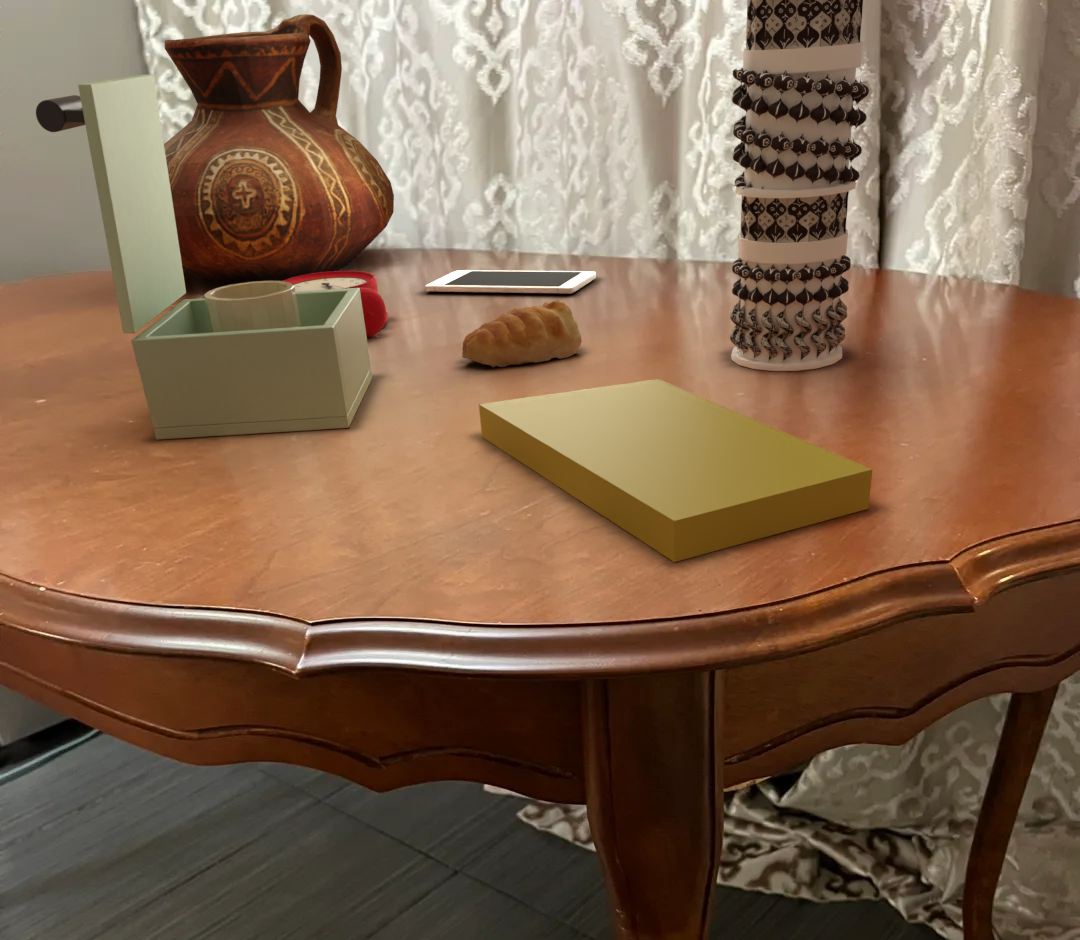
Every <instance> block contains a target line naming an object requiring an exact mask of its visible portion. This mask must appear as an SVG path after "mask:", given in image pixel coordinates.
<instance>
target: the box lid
mask: <svg viewBox="0 0 1080 940" xmlns="http://www.w3.org/2000/svg"><path fill="white" fill-rule="evenodd" d="M77 87H78V92H79V95H75V94H72V95H68V96H62V97H55V98H49V99H43V100H41V101H39V103H38V104H37V105H36V108H35V118H36V120H37V122H38V124H39V125H40V126H41V127H42V128H43V129H44V130H46V132H50V133H57V132H63V131H65V130H66V131H67V130H71V129H73V128H74V129H75V128H78V127H82V126H85V131H86V135H87V141H88V147H89V153H90V158H91V164H92V169H93V174H94V179H95V187H96V191H97V196H98V203H99V207H100V213H101V219H102V223H103V230H104V235H105V240H106V247H107V252H108V256H109V263H110V267H111V268H110V269H111V273H112V279H113V283H114V289H115V294H116V300H117V305H118V312H119V316H120V317H119V318H120V323H121V328H122V333H123V334H136V333H137V332H138V331H140V330H141V329H142V328H143V327H144V326H146V325H147V324H148V323H150V322H151V321H152V320H153V319H155V318H156V317H158V316H159V315H160V314H161V313H163V312H164V311H165V310H166V309H168V308H169V307H170V306H171V305H173V304H174V303H175V302H177V301H178V300H179V299H181V298H182V297H183V296H184V295H186V294H187V290H186V282H185V276H184V269H183V268H182V262H181V255H180V248H179V242H178V235H177V228H176V222H175V215H174V208H173V202H172V195H171V188H170V182H169V175H168V168H167V162H166V155H165V148H164V144H165V143H164V136H163V129H162V123H161V116H160V110H159V103H158V96H157V89H156V83H155V76H154V74H149V73H148V74H145V73H143V74H136V75H130V76H122V77H116V78H109V79H102V80H97V81H90V82H89V81H88V82H83V83H82V82H81V83H78V84H77Z"/></svg>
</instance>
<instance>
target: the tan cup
mask: <svg viewBox="0 0 1080 940" xmlns="http://www.w3.org/2000/svg"><path fill="white" fill-rule="evenodd" d="M203 298H205V303H206V308H207V312H208V317H209V322H210V326H211V331H212V333H213V332H229V331H244V330H259V329H274V328H289V327H301V322H300V316H299V310H298V304H297V298H296V293H295V287H294V285H293V284H292V283H290V282H284V281H254V282H245V283H238V284H227V285H223V286H219V287H216V288H213V289H210V290H208V291H206V293H204V294H203Z"/></svg>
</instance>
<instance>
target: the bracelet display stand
mask: <svg viewBox="0 0 1080 940" xmlns="http://www.w3.org/2000/svg"><path fill="white" fill-rule="evenodd" d="M863 5H864V0H746V36H745V49H743V50H742V52H743V53H742V55H743V57H742V67H741V68H740V69H738V68H735V69H732V77H733V78H734V79H735V80H736V81H738V82H740V85H739V86H737V87H736V88H735V89H734V90H733V92H732V95H731V102H732V104H734V105H735V106H737V107H739V109H740V111H741V110H743V111H744V112H745V115H741V118H739V119H738V120H737V121H735V123H734V124H733V130H732V134H733V136H734V138H735V139H738V140H739V141H740V142H739V143H738V144H737V145H736V146H735V147H734V148H733V154H732V160H733V161H734V162H736V163H738V165H740V166H741V168H744V170H743V171H742V173H741V174H740V175H738V176H737V177H736V178H735V179H734V185H733V187H735V194H736V195H739V196H741V201H740V203H741V207H740V232H739V234H738V236H737V259H735V260H734V261H733V263H732V267H731V271H732V273H733V274H734V275H737V276H739V279H738V280H735V282H733V284H732V288H731V294H732V295H733V296H735V297H737V298H738V301H737V303H736V304H735V305H734V306H732V309H731V312H730V320H731V321H732V323H733V324H734V327H733V328H732V329H731V332H730V334H729V340H730V341H731V343H732V344H733V345H734V347H733V348H732V350H731V355H730V360H731V361H733V363H735V364H736V365H738V366H742V367H745V368H749V369H753V370H759V371H770V372H799V371H807V370H815V369H820V368H824V367H827V366H831V365H834V364H836V363H838V361H840V360H841V359H843V347H842V346H841V345H839V344H840V343H842V342H843V341H844V340H845V339H846V327H845V326H844V325H843V324H842V322H843V321H844V320H846V319H847V318H848V306H847V305H846V304H845V303H844V302H843V301H842V299H841V297H842V295H844V294H846V293H847V292H848V291H849V290H850V289H849V288H850V285H849V281H848V279H846V278H845V277H843V276H842V275H843V274H845V273H846V272H847V271H849V270H850V269H851V266H852V264H851V258H850V257H849V256H847V253H848V251H847V250H848V237H849V231H848V229H847V217H848V205H849V193H850V191H853V190H855V189H856V185H857V183H856V181H858V180H859V178H860V172H859V171H858V170H856V168H854V167H853V166H852V163H853V160H855V159H856V158H858V157H859V156H860V155H861V154H862V153H863V148H862V146H861V145H860V144H859V143H856V141H855V139H854V138H853V139H852V138H851V137H852V129H853V127H854V128H855V129H854V131H857V128H858V127H859V126H861V125H862V124H864V123H865V122H866V121H867V118H868V117H867V114H866V113H865V112H864V111H863V110H861V109H860V108H859V106H857V108H856V109H855V107H854V102H855V104H856V105H858V104H859V103H860V102H861V101H863V100H864V99H865V98H866V97H868V95H869V93H870V89H869V87H868V86H867V85H866V84H864V83H862V80H861V78H859V79H860V80H859V81H858V80H857V78H856V74H857V68H861V66H862V56H863V41H862V40H861V32H862V23H863Z"/></svg>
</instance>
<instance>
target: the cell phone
mask: <svg viewBox="0 0 1080 940" xmlns="http://www.w3.org/2000/svg"><path fill="white" fill-rule="evenodd" d="M596 278H597V272H596V271H590V270H587V271H586V270H584V271H583V270H485V269H484V270H481V269H480V270H479V269H478V270H477V269H475V270H473V269H471V270H470V269H463V270H462V269H461V270H460V269H459V270H458V269H457V270H454V271H452V272H450V273H448V274H445V275H444V276H441V277H440V278H437V279H435V280H433V281H432V282H430V283H427V284H425V291H426V292H448V293H449V292H450V293H451V292H453V293H507V294H508V293H510V294H512V293H514V294H515V293H516V294H565V295H567V294H568V295H569V294H574V293H575V292H576V291H578V290H581V288H584V286H586V285H588V284H589V283H591V282H592V281H593V280H595V279H596Z"/></svg>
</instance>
